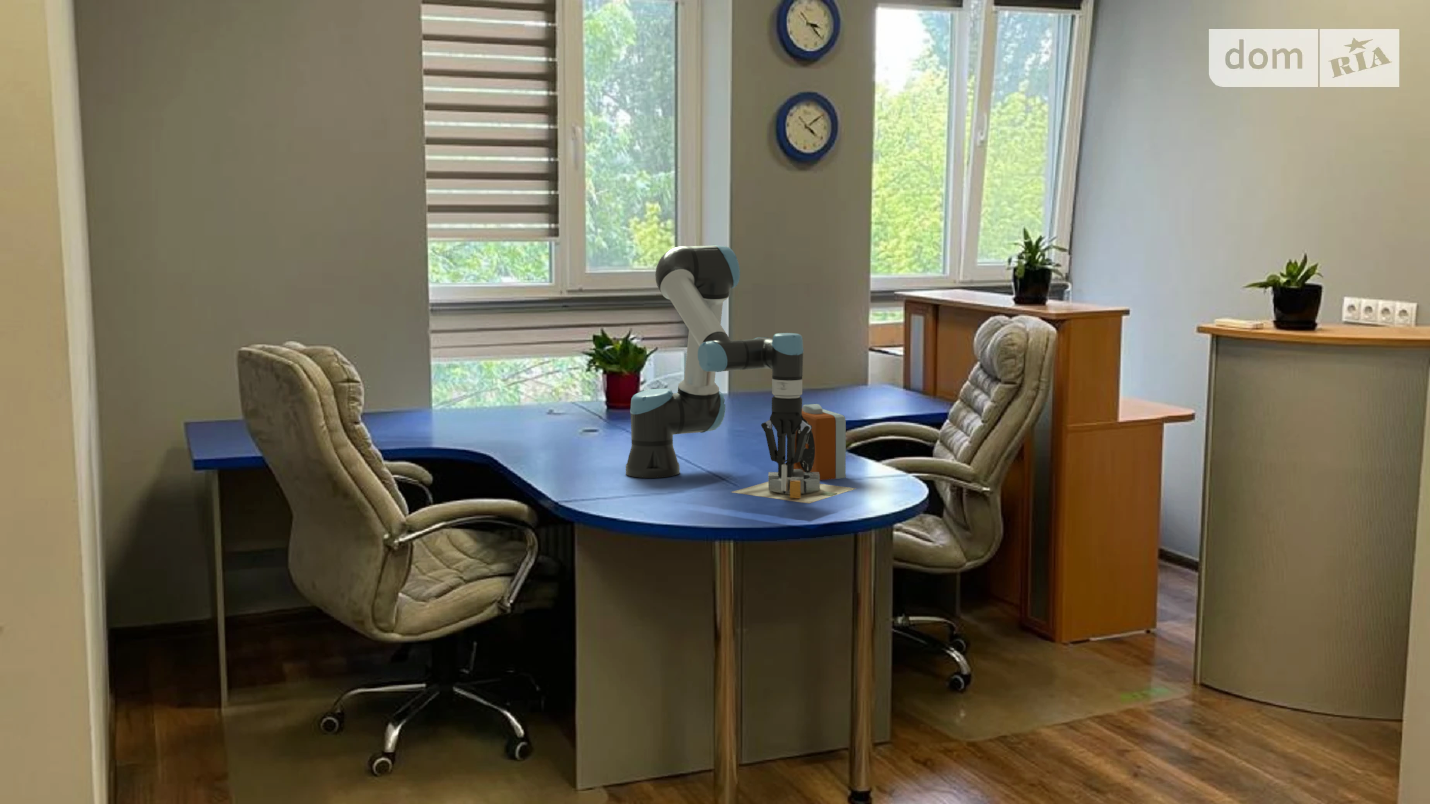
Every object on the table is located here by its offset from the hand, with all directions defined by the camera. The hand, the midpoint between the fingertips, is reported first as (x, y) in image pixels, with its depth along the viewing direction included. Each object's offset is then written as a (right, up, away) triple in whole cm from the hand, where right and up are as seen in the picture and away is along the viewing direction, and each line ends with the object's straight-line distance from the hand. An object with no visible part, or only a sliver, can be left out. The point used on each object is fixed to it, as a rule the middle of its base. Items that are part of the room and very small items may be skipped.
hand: (785, 489), depth 335 cm
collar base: (+3, -2, +10) cm, 10 cm away
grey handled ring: (+3, -1, +7) cm, 7 cm away
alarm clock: (+10, +1, +33) cm, 34 cm away
